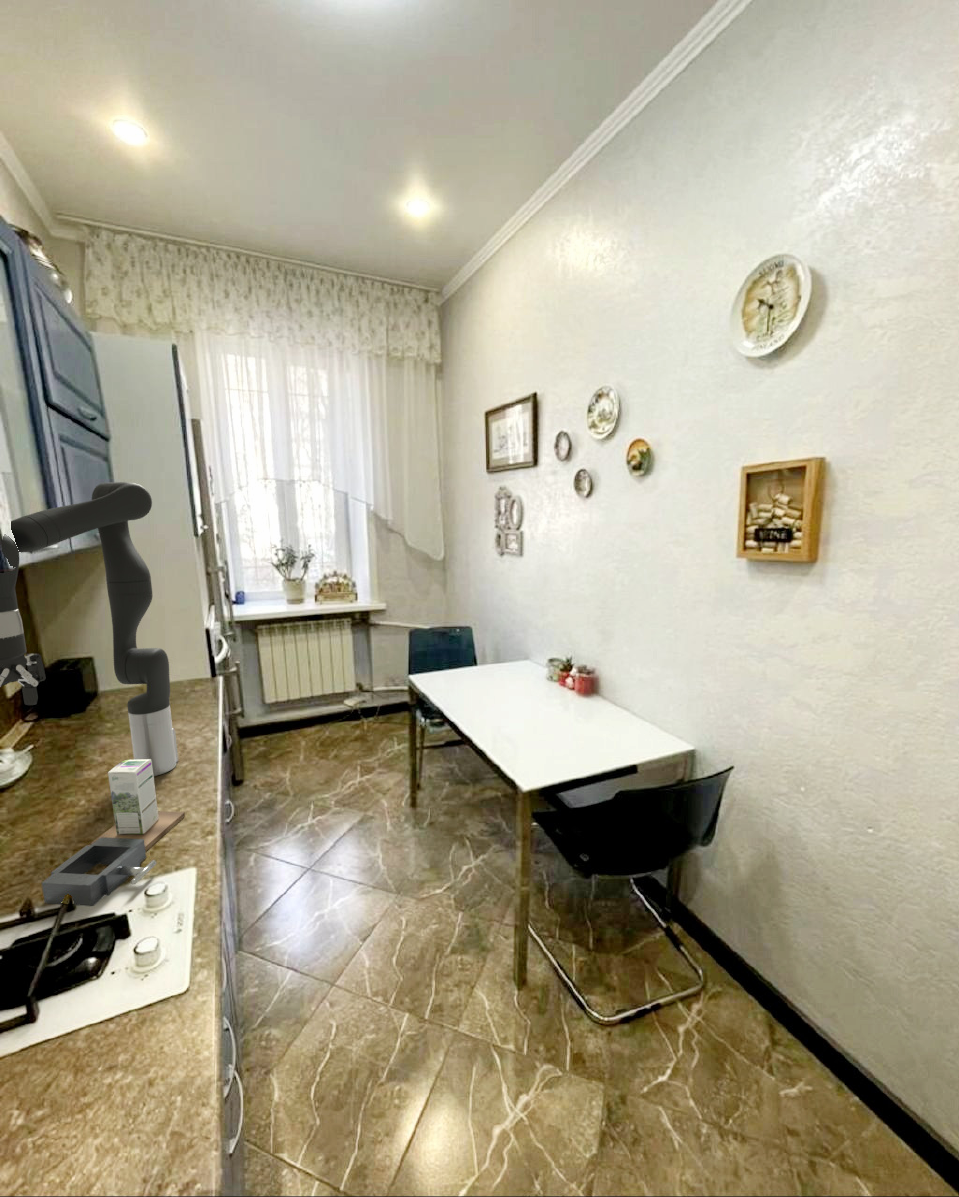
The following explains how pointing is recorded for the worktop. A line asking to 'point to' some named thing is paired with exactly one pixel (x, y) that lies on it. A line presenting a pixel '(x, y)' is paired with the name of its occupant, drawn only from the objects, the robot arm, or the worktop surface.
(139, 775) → the syrup box
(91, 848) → the vise
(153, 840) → the walnut board
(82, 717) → the worktop surface
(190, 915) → the worktop surface
